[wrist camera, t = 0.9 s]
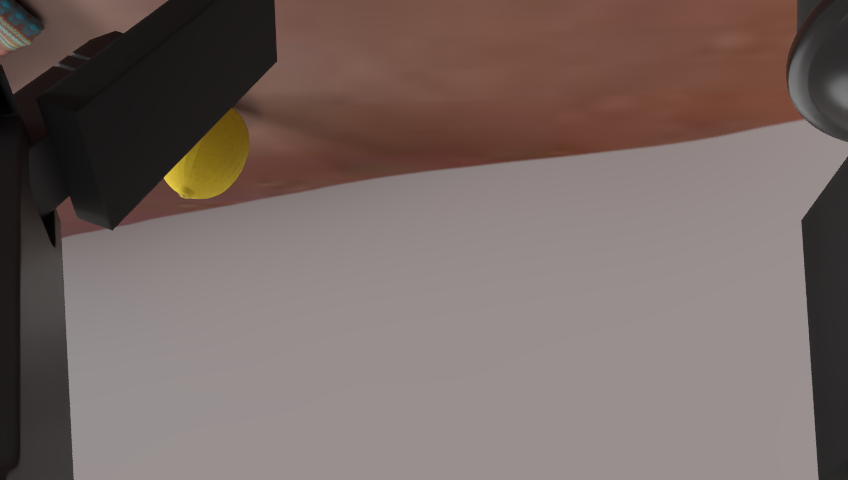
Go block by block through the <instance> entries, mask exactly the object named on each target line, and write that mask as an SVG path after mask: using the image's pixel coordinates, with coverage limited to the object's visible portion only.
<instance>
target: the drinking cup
mask: <svg viewBox="0 0 848 480" xmlns="http://www.w3.org/2000/svg"><path fill="white" fill-rule="evenodd" d="M786 78H787V86H788V91H789V94H790V98H791V100H792V102H793V104H794V106H795V107H796V109H797V110H798V112H799V113H800V114H801V115H802V116H803V117H804V118H805V119H806V120H807V121H808V122H809V123H810V124H812V125H813V126H814V127H815V128H817V129H819V130H820V131H822V132H824V133H826V134H828V135H830V136H832V137H834V138H837V139H840V140H843V141H846V142H848V0H798V3H797V34H796V36H795V39H794V41H793V43H792V45H791V48H790V51H789V54H788V59H787V66H786Z"/></svg>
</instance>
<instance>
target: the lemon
mask: <svg viewBox="0 0 848 480" xmlns="http://www.w3.org/2000/svg"><path fill="white" fill-rule="evenodd" d="M248 152H249V133H248V129H247V127H246V124H245V122H244V120H243V119H242V117H241V116H240V115H239V114H238V112H236V111H235V110H234V109H233V108H231V109H230V110H229V111H228V112H227V113H226V114H225V115H224V116H223V117H222V118H221V119H220V120H219V121H218V122H217V123H216V124H215V125H214V126H213V127H212V128H211V130H210V131H209V132H208V133H207V134H206V135H205V136H204V137H203V138H202V139H201V140H200V141H199V142H198V143H197V144H196V145H195V146H194V147H193V148H192V149H191V150H190V151H189V152H188V153H187V154H186V155H185V156H184V157H183V158H182V159H181V160H180V161H179V162H178V163H177V164H176V166H175V167H174V168H173V169H172V170H171V171H170V172H169V173H168V174H167V175H166V176H165V177H164V179H165V181H166V182H167V183H168V184H169V186H170V187H171V188H172V189H174V190H175V191H176V192H178V193H179V195H180V196H181V197H183V198H186V199H188V198H193V199H206V198H211V197H214V196H216V195H219V194H221V193H223V192H224V191H225V190H226V189H227V188H229V187H230V186H231V185H232V184H233V182H234V181H235V180H236V179H237V177H238V176H239V174H240V173H241V171H242V169H243V167H244V164H245V162H246V159H247V156H248Z"/></svg>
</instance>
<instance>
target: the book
mask: <svg viewBox="0 0 848 480" xmlns="http://www.w3.org/2000/svg"><path fill="white" fill-rule="evenodd" d="M44 28H45V27H44V26H43V25H42V24H41V23H40V22H39V21H38V20H37V19H36V18H35V17H34V16H32V15H31V14H30V13H28V12H27V11H26V10H25V9H24V8H23V7H22V6H21V5H19V4H18V3H17V2H15V1H14V0H0V58H2V57H5V56H6V55H7V54H8V53H10V52H12V51H14V50H16V49H17V48H19V47H22V46H28V45H30V44H31V43H32V41H33V39H34V38H35V37H36V36H37V35H39V34H40V33H41V31H42V30H44Z"/></svg>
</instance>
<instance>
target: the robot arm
mask: <svg viewBox="0 0 848 480" xmlns="http://www.w3.org/2000/svg"><path fill="white" fill-rule="evenodd" d="M276 62H277V49H276V27H275V4H274V0H169V1H167V2H166V3H165V4H163V5H162V6H160V7H159V8H158V9H156V10H155V11H154V12H152V13H151V14H150V15H148V16H147V17H145V18H144V19H143V20H141V21H140V22H139V23H137V24H136V25H135V26H133V27H132V28H131V29H129V30H128V31H126V32H125V33H121V32H117V31H114V32H111V33H108V34H105V35H102V36H100V37H97V38H94V39H91V40H89V41H88V42H87V43H85V44H84V45H82V46H81V47H79V48H78V49H77V50H75V51H74V52H72V56H69V55H68V56H67V57H65V58H64V59H63V60H61V61H60V62H58V63H57V66H56V67H55V66H53V67H51V68H50V69H48V70H47V71H46V72H44V73H43V74H41V75H40V76H39V77H37V78H36V79H34V80H33V81H32V82H30V83H29V84H27V85H26V86H24V87H23V88H22V89H20V90H19V91H17V92H16V93H15V94H13V93H12V91H11V88H10V85H9V83H8V80H7V77H6V75H5V72H4V70H3V67H2V65H0V480H74V479H73V460H72V439H71V419H70V401H69V400H70V399H69V380H68V360H67V340H66V320H65V300H64V280H63V261H62V241H61V221H60V218H59V215H58V213H57V210H56V207H57V206H59V205H60V204H61V203H62V202H63V201H64V200H65V199H66V198H67V197H68V196H69V195H70V198H71V201H72V204H73V206H74V209H75V212H76V215H77V218H79V219H82V220H85V221H87V222H90V223H93V224H96V225H99V226H101V227H104V228H107V229H110V230H113V229H114V228H115V227H116V226H117V225H118V224H119V223H120V222H121V221H122V220H123V219H124V218H125V217H126V216H127V215H128V214H129V213H130V212H131V211H132V210H133V209H134V208H135V207H136V206H137V205H138V204H139V203H140V202H141V200H142V199H143V198H144V197H145V196H146V195H147V194H148V193H149V192H150V191H151V190H152V189H153V188H154V187H155V186H156V185H157V184H158V183H159V182H160V181H161V180H162V179H163V178H164V177H165V176H166V175H167V174H168V173H169V172H170V171H171V170H172V169H173V168H174V167H175V166H176V164H177V163H178V162H179V161H180V160H181V159H182V158H183V157H184V156H185V155H186V154H187V153H188V152H189V151H190V150H191V149H192V148H193V147H194V146H195V145H196V144H197V143H198V142H199V141H200V140H201V139H202V138H203V137H204V136H205V135H206V134H207V133H208V132H209V131H210V130H211V128H212V127H213V126H214V125H215V124H216V123H217V122H218V121H219V120H220V119H221V118H222V117H223V116H224V115H225V114H226V113H227V112H228V111H229V110H230V109H231V108H232V107H233V106H234V105H235V104H236V103H237V102H238V101H239V100H240V99H241V98H242V97H243V96H244V95H245V94H246V92H247V91H248V90H249V89H250V88H251V87H252V86H253V85H254V84H255V83H256V82H257V81H258V80H259V79H260V78H261V77H262V76H263V75H264V74H265V73H266V72H267V71H268V70H269V69H270V68H271V67H272V66H273V65H274V64H275V63H276ZM802 235H803V251H804V266H805V281H806V296H807V310H808V325H809V341H810V356H811V371H812V385H813V401H814V415H815V431H816V446H817V461H818V476H819V480H848V157H847V158H846V160H845V161H844V162H843V164H842V165H841V167H840V168H839V169H838V171H837V172H836V174H835V175H834V176H833V178H832V179H831V180H830V182H829V183H828V185H827V186H826V188H825V189H824V190H823V191H822V193H821V194H820V196H819V197H818V199H817V200H816V201H815V202H814V204H813V205H812V207H811V208H810V209H809V211H808V212H807V214H806V215H805V216H804V218H803V219H802Z"/></svg>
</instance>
